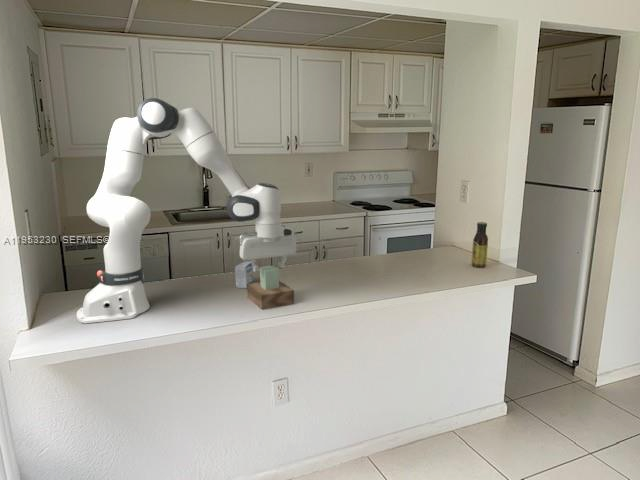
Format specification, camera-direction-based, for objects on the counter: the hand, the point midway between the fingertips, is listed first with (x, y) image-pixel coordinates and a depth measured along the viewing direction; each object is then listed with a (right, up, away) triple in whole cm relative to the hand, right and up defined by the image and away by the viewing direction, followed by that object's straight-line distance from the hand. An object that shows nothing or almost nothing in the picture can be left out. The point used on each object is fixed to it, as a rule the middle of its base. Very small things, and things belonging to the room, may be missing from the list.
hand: (268, 269), depth 166 cm
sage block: (0, -6, +2) cm, 7 cm away
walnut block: (0, -11, +3) cm, 12 cm away
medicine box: (-12, -8, +20) cm, 25 cm away
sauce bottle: (+89, -2, +46) cm, 100 cm away
